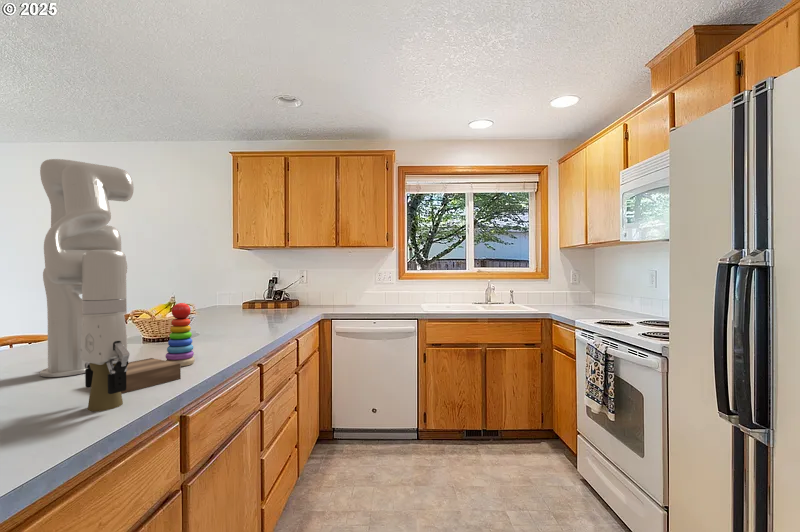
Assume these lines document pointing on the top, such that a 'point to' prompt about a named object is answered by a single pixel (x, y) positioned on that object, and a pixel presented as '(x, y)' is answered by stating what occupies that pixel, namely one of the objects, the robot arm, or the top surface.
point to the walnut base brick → (150, 373)
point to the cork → (102, 390)
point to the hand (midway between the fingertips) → (105, 388)
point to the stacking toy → (180, 337)
